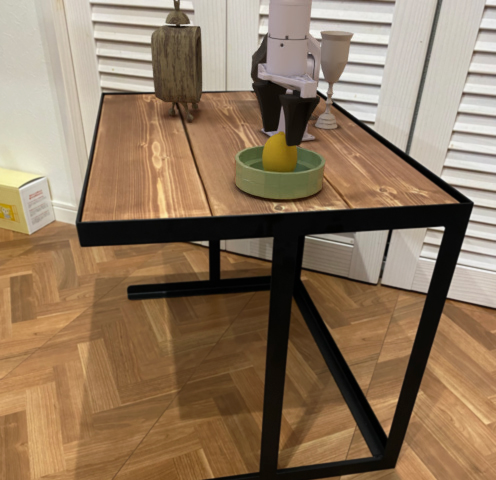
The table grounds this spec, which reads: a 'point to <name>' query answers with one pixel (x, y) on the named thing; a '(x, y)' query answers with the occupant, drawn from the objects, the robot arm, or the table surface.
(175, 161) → the table surface
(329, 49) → the chalice
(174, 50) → the tabletop clock
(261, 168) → the bowl
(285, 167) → the lemon
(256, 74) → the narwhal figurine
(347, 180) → the table surface
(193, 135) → the table surface
